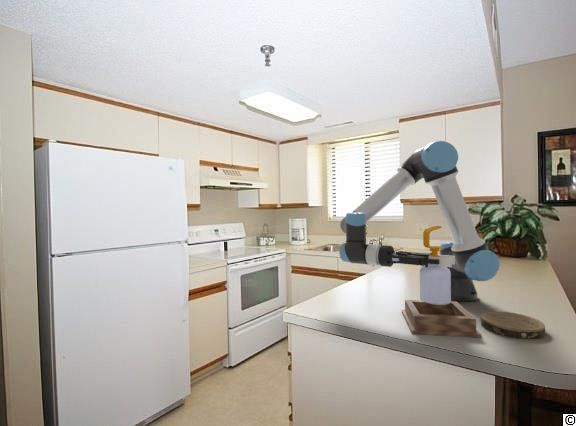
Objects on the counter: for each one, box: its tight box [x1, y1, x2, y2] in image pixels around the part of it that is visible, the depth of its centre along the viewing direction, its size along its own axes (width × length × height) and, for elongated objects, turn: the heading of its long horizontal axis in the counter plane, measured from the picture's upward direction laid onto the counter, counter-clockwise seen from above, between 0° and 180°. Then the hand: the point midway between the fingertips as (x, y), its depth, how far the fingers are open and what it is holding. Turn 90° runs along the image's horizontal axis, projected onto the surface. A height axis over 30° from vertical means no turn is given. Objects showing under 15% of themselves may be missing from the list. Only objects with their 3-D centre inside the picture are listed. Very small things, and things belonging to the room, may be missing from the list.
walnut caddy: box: [401, 299, 483, 339], centre depth 99 cm, size 19×19×5 cm
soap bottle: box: [419, 225, 452, 305], centre depth 98 cm, size 9×9×25 cm
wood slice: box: [480, 310, 546, 341], centre depth 93 cm, size 16×16×3 cm
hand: (452, 261), depth 95 cm, fingers closed on soap bottle, 5 cm apart
